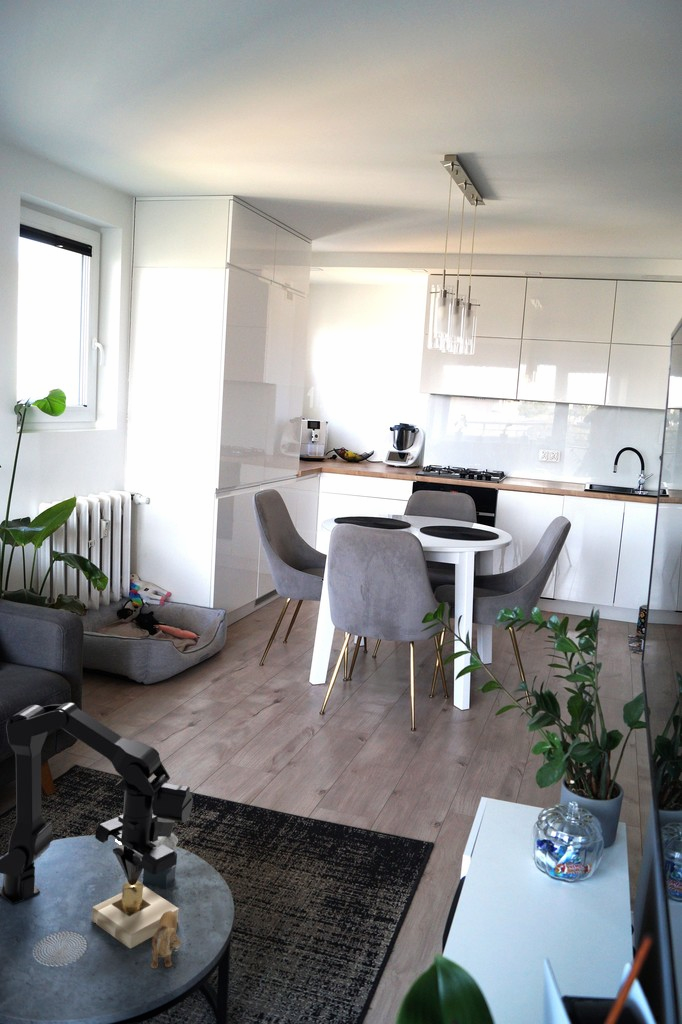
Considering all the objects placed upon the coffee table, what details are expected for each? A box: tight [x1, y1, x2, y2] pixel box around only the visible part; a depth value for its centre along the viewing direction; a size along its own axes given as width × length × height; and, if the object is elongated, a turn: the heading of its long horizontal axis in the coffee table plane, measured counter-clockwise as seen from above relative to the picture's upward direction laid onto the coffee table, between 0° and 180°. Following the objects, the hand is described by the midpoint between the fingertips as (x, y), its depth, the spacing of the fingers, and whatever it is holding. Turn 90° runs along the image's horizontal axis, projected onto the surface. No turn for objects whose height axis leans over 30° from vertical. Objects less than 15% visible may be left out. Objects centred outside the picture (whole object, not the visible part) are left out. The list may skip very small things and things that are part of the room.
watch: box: [142, 832, 179, 889], centre depth 188 cm, size 6×8×11 cm
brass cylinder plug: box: [121, 880, 144, 916], centre depth 174 cm, size 4×4×7 cm
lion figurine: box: [150, 911, 183, 969], centre depth 164 cm, size 15×5×9 cm, turn 13°
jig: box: [91, 885, 180, 949], centre depth 173 cm, size 12×12×3 cm
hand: (132, 884), depth 173 cm, fingers closed
